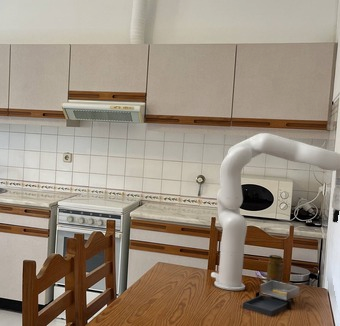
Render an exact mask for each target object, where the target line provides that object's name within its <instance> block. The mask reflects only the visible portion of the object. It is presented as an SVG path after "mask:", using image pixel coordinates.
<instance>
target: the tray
mask: <svg viewBox="0 0 340 326" xmlns="http://www.w3.org/2000/svg"><path fill="white" fill-rule="evenodd" d="M287 303H288V302H285V301H281V300H278V299H274V298H271V297H270V296H267V295H263V294H260V295H259V296H257V297H255V296H254V297H253V298H251V299H248V300H246V301H243V302H242V308H243V309H246V310H250V311H253V312H257V313H259V314H263V315H267V316H269V317H273V316H275V315H277V314H278V313H281V312H282V311H285V310H287Z"/></svg>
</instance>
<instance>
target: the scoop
mask: <svg viewBox="0 0 340 326" xmlns="http://www.w3.org/2000/svg"><path fill="white" fill-rule="evenodd" d="M273 290H278V291H281V292H285V293H287V295H285V294H281V293H276V292H273ZM259 292H260V295H263V296H267V297H274V298H278V299H281V300H285V301H287V300H289V299H291V298H293V299H294V298H295V297H297V296H299V295H300V286H297V285H295V284H294V283H293V282H288V283H286V282H283V281H281V282H278V281H274V280H270V281H268V282H263V283H261V284H259Z"/></svg>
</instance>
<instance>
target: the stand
mask: <svg viewBox="0 0 340 326" xmlns="http://www.w3.org/2000/svg"><path fill="white" fill-rule="evenodd" d="M254 295H255V296H254V298H255V297H257V296H260V295H261V292H260V290H257V291H256V292H255V294H254ZM271 298H274V297H271ZM274 299H278V298H274ZM278 300H281V299H278ZM281 301H285V300H281ZM285 302H288V303H287V308H286V310H291V309H292V303H294V297H293V298H291V299H289V300H287V301H285Z"/></svg>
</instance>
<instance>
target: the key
mask: <svg viewBox="0 0 340 326" xmlns="http://www.w3.org/2000/svg"><path fill="white" fill-rule="evenodd" d="M278 290H279V289H278ZM278 290H273V292H276V293H281V294H285V295H287V293H285V292H281V291H278Z"/></svg>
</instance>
